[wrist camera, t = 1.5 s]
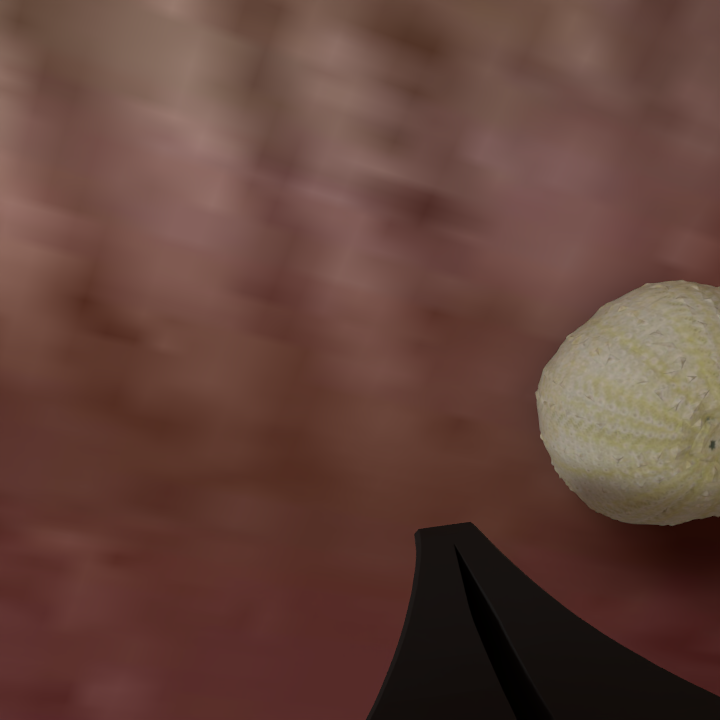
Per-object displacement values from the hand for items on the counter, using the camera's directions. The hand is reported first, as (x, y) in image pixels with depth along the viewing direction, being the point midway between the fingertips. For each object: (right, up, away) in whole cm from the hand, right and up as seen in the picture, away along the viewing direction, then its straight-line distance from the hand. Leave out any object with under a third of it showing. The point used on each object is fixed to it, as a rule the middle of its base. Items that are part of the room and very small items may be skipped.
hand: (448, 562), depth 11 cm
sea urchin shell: (+9, +3, +9) cm, 13 cm away
